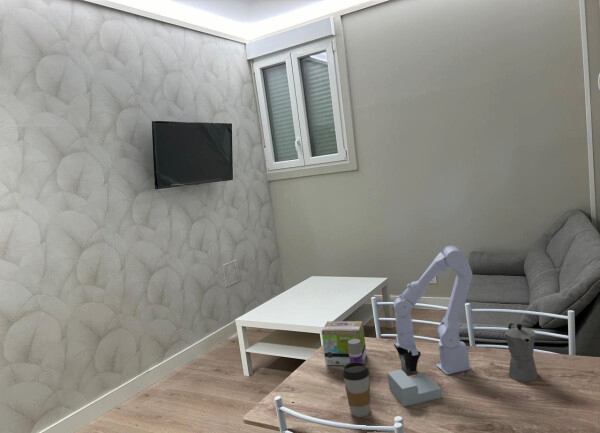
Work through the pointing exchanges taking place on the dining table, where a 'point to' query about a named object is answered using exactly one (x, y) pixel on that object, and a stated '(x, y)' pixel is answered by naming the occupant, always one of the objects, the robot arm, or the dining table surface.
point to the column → (405, 365)
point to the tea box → (341, 340)
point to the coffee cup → (357, 388)
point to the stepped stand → (413, 387)
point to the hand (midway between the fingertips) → (408, 366)
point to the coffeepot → (521, 353)
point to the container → (355, 350)
